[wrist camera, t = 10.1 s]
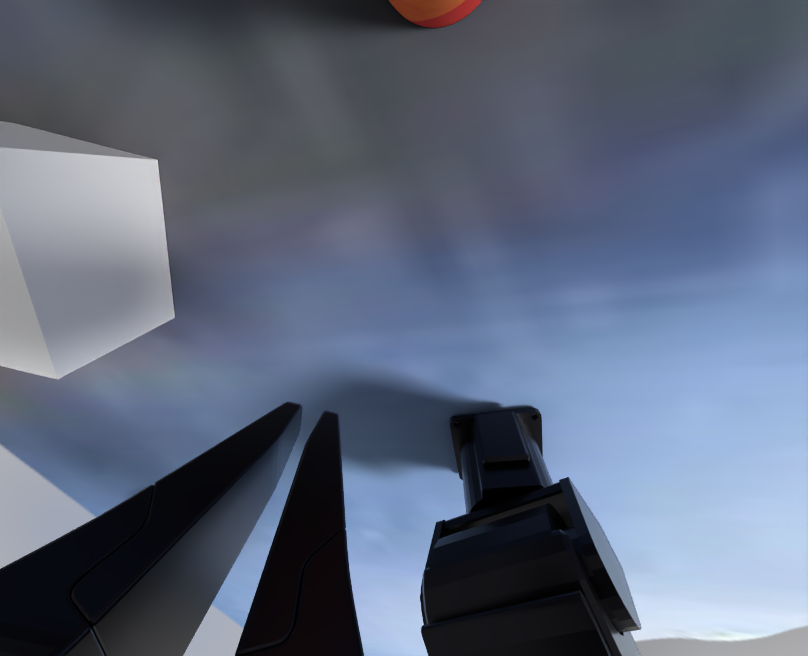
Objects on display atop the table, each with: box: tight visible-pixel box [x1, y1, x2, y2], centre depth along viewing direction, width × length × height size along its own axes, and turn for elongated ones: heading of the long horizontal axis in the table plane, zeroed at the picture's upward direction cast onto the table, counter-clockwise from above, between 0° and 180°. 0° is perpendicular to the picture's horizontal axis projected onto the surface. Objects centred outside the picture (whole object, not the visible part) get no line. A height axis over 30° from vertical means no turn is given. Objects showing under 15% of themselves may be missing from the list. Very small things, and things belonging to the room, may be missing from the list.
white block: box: [0, 121, 175, 379], centre depth 16 cm, size 9×10×8 cm
